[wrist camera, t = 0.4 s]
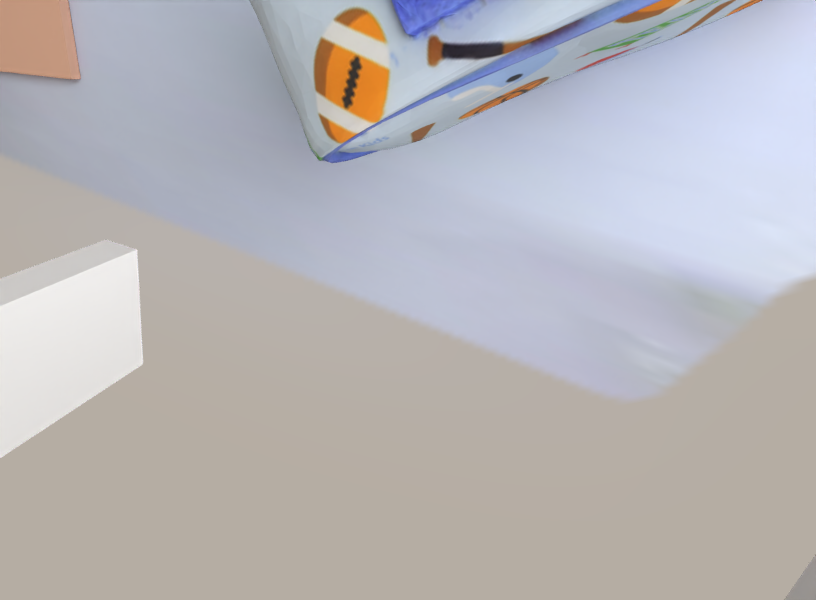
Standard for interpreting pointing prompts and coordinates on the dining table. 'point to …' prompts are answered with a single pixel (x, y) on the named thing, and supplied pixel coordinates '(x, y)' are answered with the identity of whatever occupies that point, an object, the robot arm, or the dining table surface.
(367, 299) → the dining table surface
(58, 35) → the coaster
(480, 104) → the lunch box
